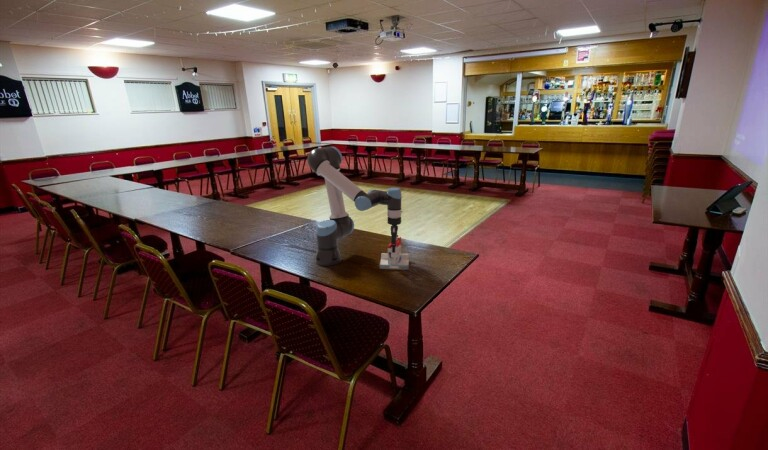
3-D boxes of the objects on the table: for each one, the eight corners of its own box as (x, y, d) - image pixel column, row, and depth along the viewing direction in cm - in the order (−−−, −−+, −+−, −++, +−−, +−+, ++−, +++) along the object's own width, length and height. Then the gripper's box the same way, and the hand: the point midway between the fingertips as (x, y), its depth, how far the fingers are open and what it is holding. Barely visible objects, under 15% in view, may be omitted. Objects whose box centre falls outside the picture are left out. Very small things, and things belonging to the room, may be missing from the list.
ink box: (393, 259, 210) (393, 235, 205) (401, 260, 208) (401, 236, 203) (387, 264, 203) (387, 240, 198) (395, 266, 201) (395, 241, 196)
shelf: (379, 269, 201) (379, 261, 199) (381, 260, 212) (381, 253, 211) (408, 269, 200) (408, 262, 198) (408, 260, 211) (408, 253, 210)
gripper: (400, 223, 185) (400, 261, 192) (401, 210, 209) (401, 244, 215) (385, 223, 186) (386, 261, 192) (388, 210, 209) (388, 244, 216)
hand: (394, 252), depth 204 cm, fingers open, 13 cm apart
